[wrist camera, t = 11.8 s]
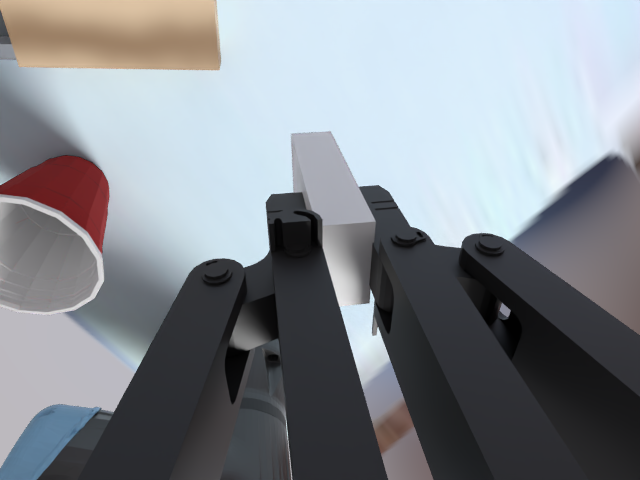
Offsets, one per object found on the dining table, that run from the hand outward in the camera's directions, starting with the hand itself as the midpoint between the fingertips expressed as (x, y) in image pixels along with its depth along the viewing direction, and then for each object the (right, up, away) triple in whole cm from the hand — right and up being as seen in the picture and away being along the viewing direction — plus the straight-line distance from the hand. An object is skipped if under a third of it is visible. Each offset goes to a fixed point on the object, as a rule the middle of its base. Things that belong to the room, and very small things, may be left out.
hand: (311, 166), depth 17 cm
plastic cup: (-22, +2, +23) cm, 32 cm away
